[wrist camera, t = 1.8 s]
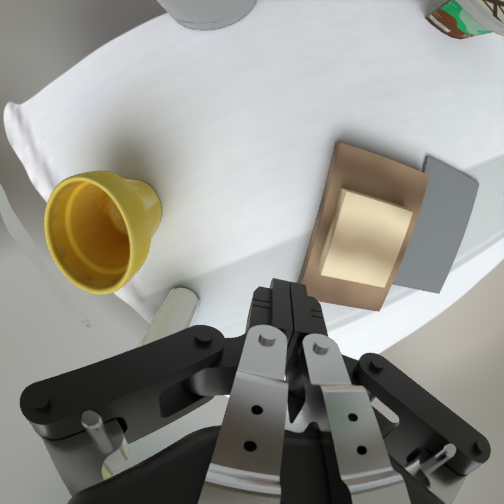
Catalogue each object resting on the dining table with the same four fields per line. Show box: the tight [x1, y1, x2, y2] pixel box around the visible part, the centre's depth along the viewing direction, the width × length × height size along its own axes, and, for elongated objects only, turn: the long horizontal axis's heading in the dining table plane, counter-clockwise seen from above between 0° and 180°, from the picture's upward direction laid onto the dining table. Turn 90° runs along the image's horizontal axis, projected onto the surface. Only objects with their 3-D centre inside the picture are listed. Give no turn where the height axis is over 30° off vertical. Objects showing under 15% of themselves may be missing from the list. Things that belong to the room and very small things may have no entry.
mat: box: [392, 156, 479, 294], centre depth 26 cm, size 15×9×1 cm, turn 169°
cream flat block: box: [318, 188, 413, 288], centre depth 24 cm, size 8×7×2 cm
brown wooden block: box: [298, 142, 430, 311], centre depth 26 cm, size 16×10×2 cm, turn 169°
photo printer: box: [137, 288, 200, 348], centre depth 27 cm, size 10×4×12 cm, turn 156°
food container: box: [426, 0, 504, 39], centre depth 10 cm, size 12×6×10 cm, turn 138°
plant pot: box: [44, 171, 162, 294], centre depth 23 cm, size 10×10×10 cm
